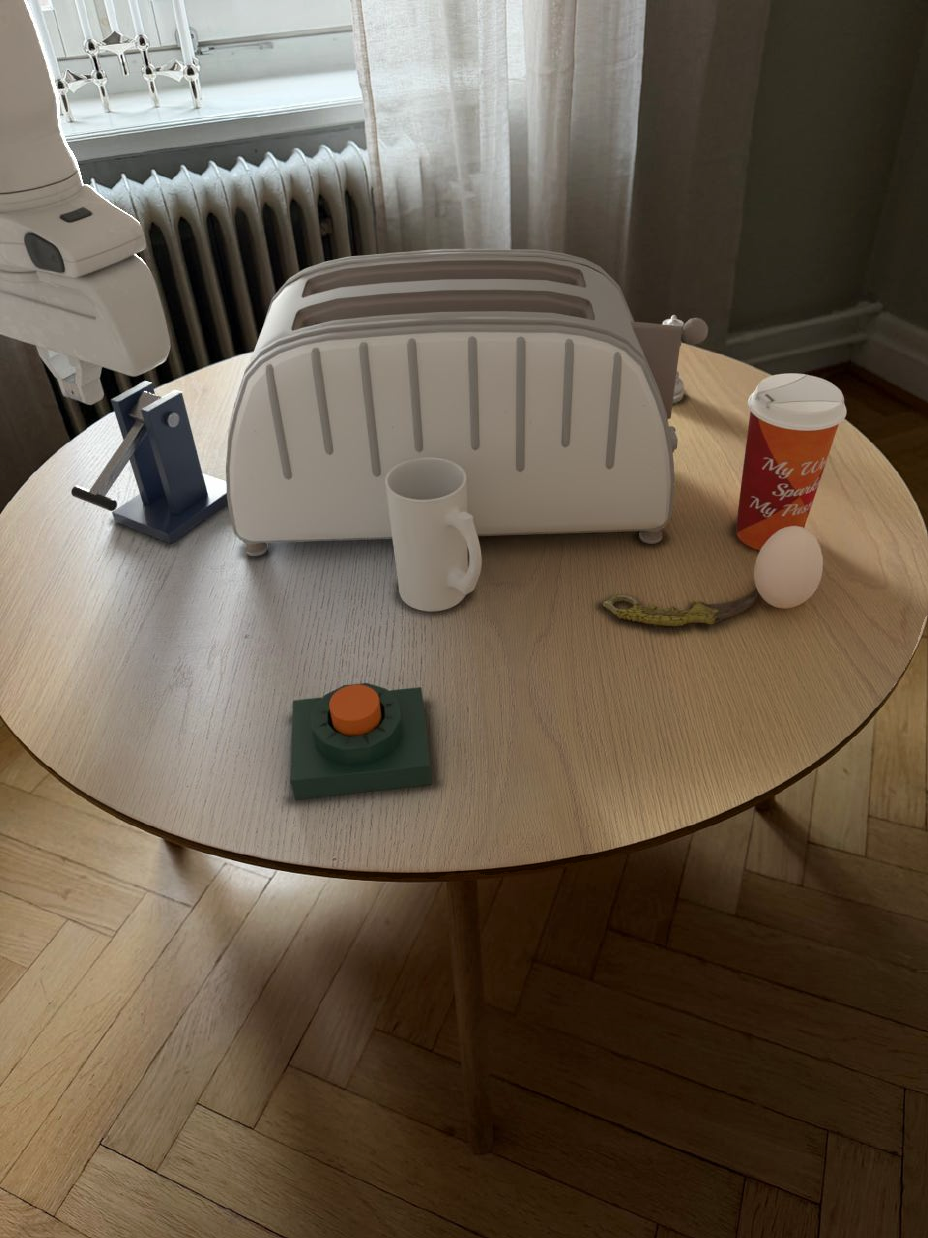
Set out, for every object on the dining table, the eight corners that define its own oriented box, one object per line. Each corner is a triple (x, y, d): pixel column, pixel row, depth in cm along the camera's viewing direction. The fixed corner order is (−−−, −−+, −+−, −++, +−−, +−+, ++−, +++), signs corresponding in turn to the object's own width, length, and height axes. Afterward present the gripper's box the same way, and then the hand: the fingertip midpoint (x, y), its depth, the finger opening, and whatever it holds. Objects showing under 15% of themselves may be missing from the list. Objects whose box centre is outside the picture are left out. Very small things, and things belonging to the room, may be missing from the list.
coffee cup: (750, 566, 85) (781, 421, 75) (709, 518, 91) (733, 378, 81) (830, 550, 87) (872, 405, 77) (785, 503, 93) (818, 364, 83)
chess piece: (689, 393, 111) (701, 313, 104) (671, 408, 108) (681, 326, 102) (657, 384, 113) (666, 304, 106) (639, 398, 110) (647, 317, 104)
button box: (294, 800, 66) (285, 764, 64) (296, 719, 72) (288, 683, 70) (432, 784, 67) (429, 748, 64) (423, 706, 73) (420, 669, 71)
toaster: (705, 552, 87) (745, 323, 72) (233, 567, 88) (178, 343, 73) (666, 438, 103) (692, 232, 89) (268, 451, 104) (228, 248, 89)
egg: (801, 582, 83) (820, 509, 78) (820, 622, 79) (842, 547, 74) (740, 584, 83) (756, 512, 78) (756, 624, 79) (774, 550, 74)
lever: (117, 516, 86) (101, 503, 84) (80, 502, 88) (64, 489, 86) (184, 414, 89) (170, 399, 87) (147, 403, 91) (133, 387, 89)
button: (332, 739, 66) (329, 722, 65) (331, 703, 69) (329, 686, 68) (382, 734, 66) (380, 717, 65) (380, 698, 69) (377, 681, 68)
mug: (381, 588, 85) (368, 476, 77) (438, 558, 88) (432, 448, 80) (450, 643, 79) (444, 528, 71) (509, 609, 82) (509, 495, 74)
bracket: (171, 544, 91) (136, 428, 83) (114, 521, 94) (76, 408, 86) (239, 494, 97) (214, 383, 89) (184, 475, 101) (154, 366, 92)
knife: (759, 577, 82) (780, 610, 78) (757, 586, 83) (778, 618, 79) (600, 593, 82) (614, 627, 78) (600, 601, 82) (613, 635, 78)
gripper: (-101, 210, 67) (-30, 384, 77) (86, 257, 59) (142, 447, 68) (-27, 187, 71) (33, 355, 80) (159, 228, 63) (202, 411, 72)
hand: (84, 398), depth 74 cm, fingers closed
